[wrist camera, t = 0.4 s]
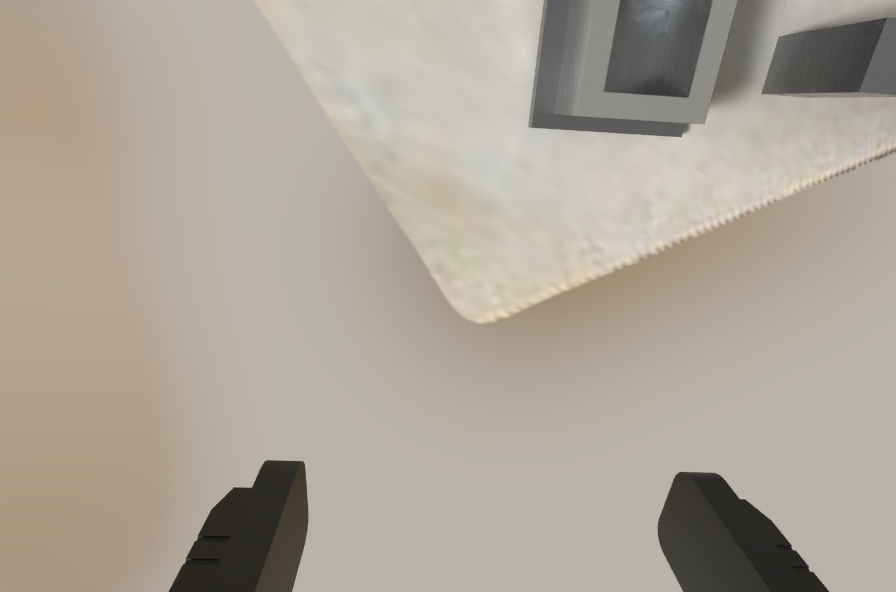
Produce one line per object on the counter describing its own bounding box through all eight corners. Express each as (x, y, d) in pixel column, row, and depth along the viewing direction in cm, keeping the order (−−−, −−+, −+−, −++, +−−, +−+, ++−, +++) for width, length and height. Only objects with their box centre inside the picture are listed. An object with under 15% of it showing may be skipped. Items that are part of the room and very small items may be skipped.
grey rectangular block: (779, 37, 31) (887, 17, 24) (828, 40, 31) (950, 23, 24) (761, 94, 33) (858, 92, 25) (808, 97, 33) (918, 96, 25)
